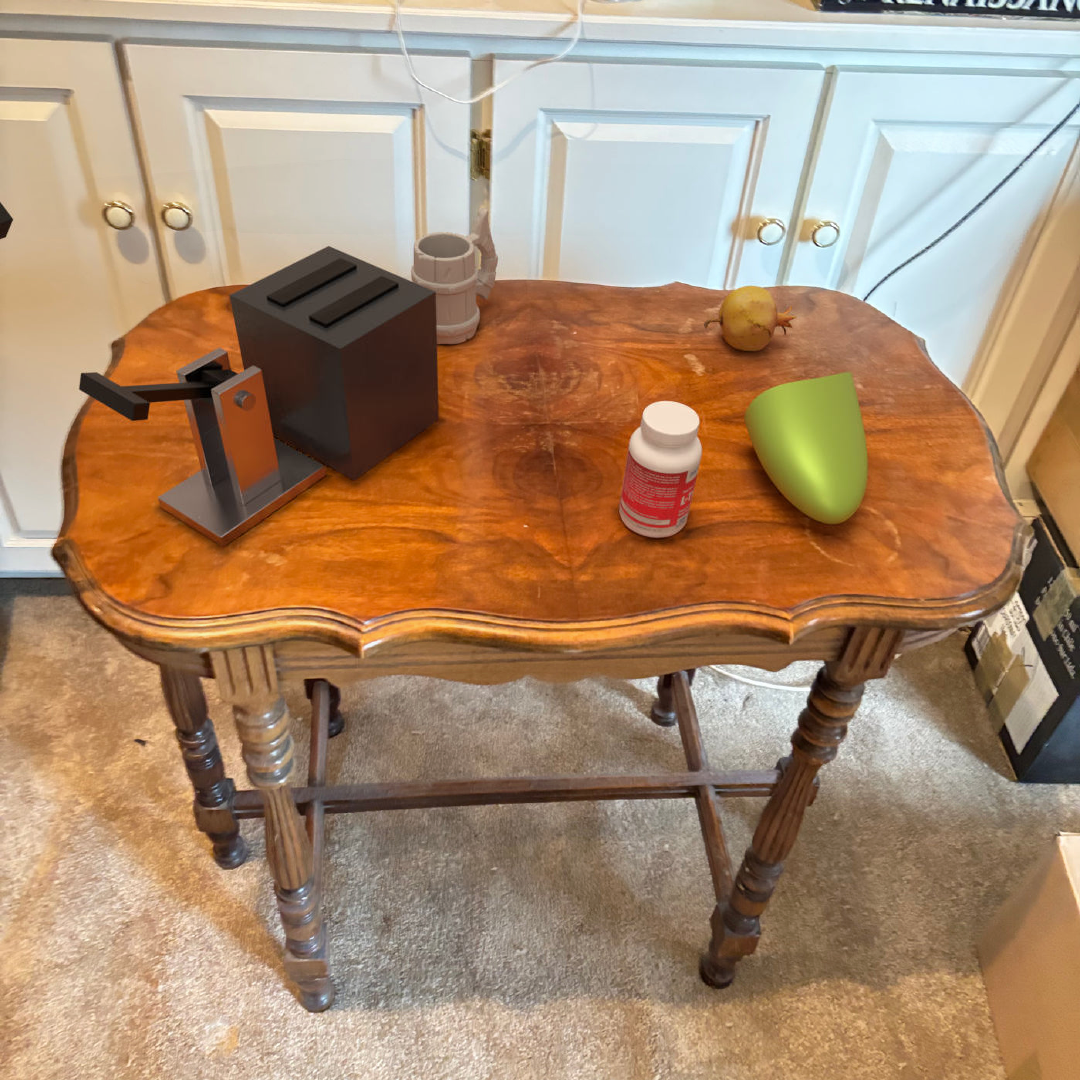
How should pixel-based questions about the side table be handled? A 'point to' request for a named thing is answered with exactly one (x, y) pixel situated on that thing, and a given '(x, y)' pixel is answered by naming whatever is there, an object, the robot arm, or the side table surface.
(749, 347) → the fruit
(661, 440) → the pill bottle
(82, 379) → the lever
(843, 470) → the green rounded cone
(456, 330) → the mug
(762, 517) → the side table surface
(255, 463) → the lever bracket
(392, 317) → the toaster
